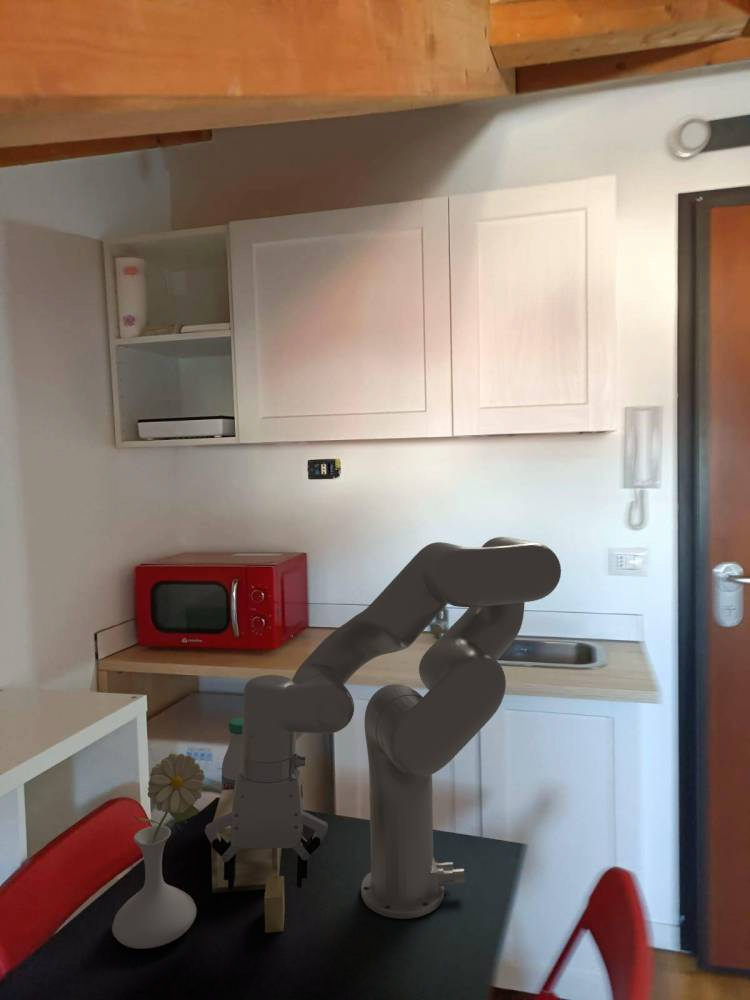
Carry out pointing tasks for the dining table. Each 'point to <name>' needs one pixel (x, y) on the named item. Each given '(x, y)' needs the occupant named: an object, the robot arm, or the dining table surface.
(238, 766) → the milk bottle
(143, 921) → the flower in vase
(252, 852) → the box
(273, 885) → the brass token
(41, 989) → the dining table surface
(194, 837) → the dining table surface
